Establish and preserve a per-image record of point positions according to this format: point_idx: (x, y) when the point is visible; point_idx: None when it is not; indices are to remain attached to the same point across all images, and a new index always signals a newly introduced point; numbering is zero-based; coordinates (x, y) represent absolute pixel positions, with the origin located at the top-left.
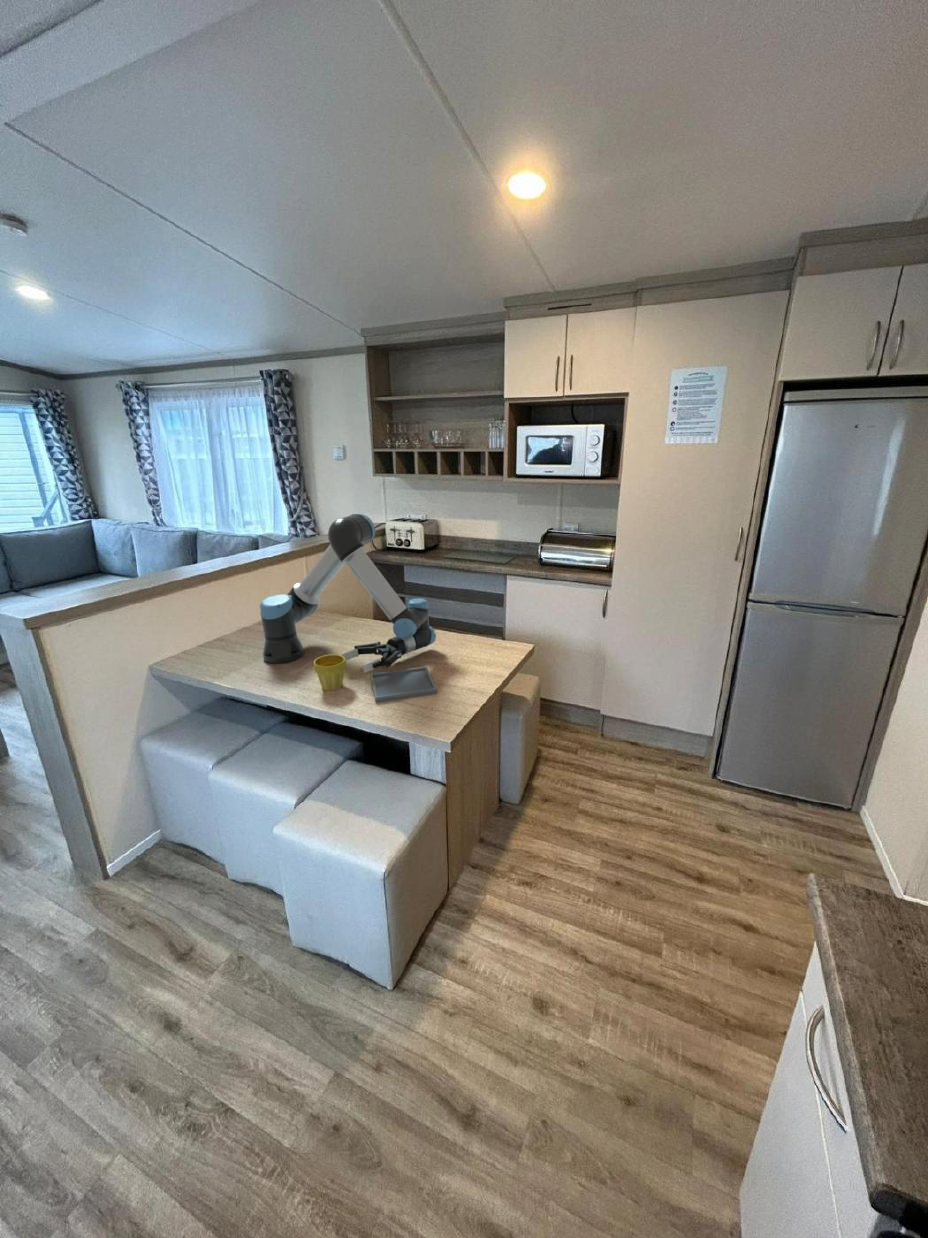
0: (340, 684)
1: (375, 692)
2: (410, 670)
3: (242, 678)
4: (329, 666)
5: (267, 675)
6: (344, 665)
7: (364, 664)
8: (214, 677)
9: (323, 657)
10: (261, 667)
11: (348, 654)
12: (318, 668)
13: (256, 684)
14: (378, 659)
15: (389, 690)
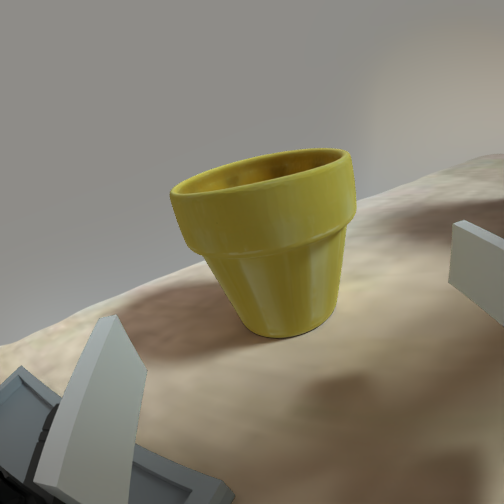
0: (239, 314)
1: (33, 382)
2: None
3: (439, 184)
4: (187, 179)
5: (450, 200)
6: (189, 225)
7: (106, 322)
8: (448, 171)
9: (336, 158)
10: (494, 193)
11: (493, 267)
12: (232, 174)
13: (403, 195)
14: (45, 469)
15: (7, 442)
